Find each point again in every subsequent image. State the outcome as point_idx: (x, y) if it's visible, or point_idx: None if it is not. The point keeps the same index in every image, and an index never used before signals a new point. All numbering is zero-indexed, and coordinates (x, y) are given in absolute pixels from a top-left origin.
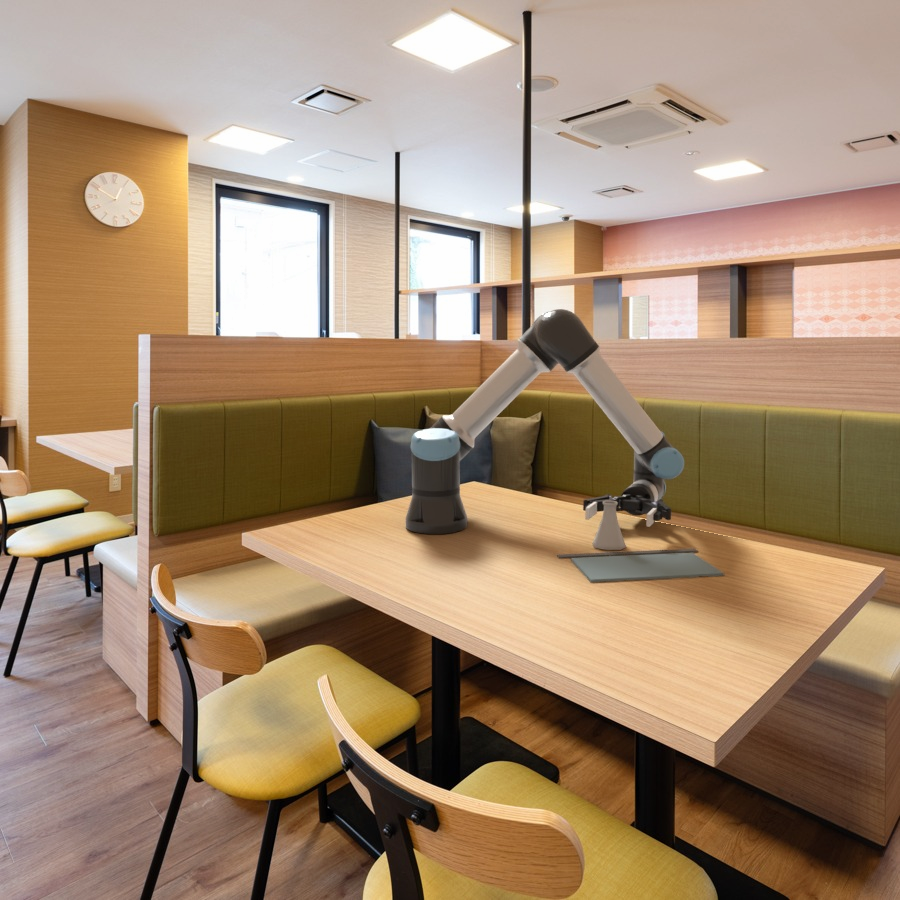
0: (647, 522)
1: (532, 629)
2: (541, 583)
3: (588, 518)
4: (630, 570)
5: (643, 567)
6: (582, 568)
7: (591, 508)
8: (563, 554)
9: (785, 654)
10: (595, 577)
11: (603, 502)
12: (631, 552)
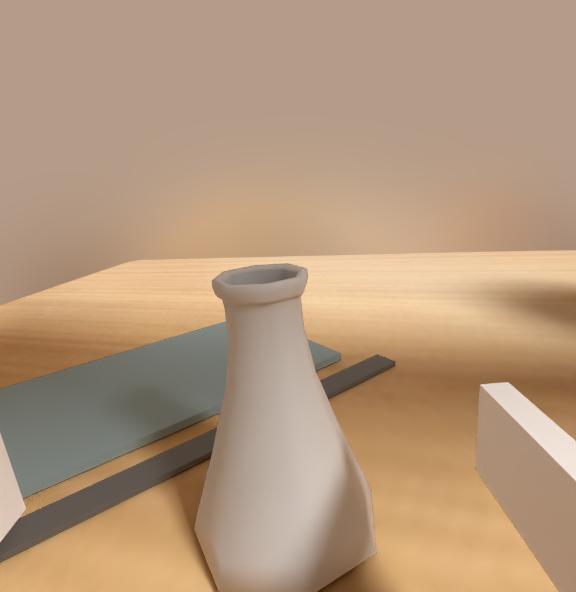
0: (9, 483)
1: None
2: (324, 299)
3: (476, 460)
4: (173, 355)
5: (137, 375)
6: None
7: (525, 453)
8: (380, 367)
9: (20, 301)
10: None
11: (294, 265)
12: (166, 461)
